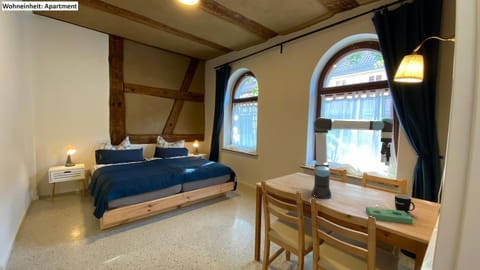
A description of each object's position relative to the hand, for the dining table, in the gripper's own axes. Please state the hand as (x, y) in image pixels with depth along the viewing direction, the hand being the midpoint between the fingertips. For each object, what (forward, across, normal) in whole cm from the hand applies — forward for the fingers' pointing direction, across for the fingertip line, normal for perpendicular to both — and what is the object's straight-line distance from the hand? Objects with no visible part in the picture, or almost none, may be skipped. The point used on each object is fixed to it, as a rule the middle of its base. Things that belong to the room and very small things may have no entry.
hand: (384, 163), depth 170 cm
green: (+28, -41, +6) cm, 50 cm away
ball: (+23, -41, +12) cm, 49 cm away
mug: (+28, -27, -7) cm, 39 cm away
